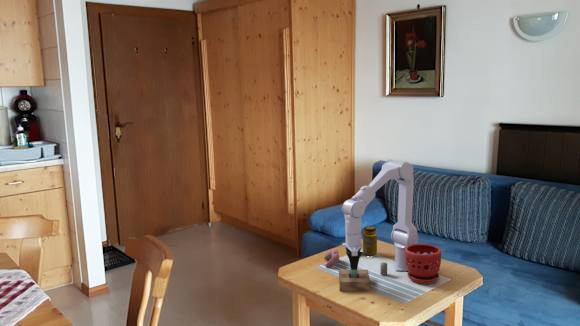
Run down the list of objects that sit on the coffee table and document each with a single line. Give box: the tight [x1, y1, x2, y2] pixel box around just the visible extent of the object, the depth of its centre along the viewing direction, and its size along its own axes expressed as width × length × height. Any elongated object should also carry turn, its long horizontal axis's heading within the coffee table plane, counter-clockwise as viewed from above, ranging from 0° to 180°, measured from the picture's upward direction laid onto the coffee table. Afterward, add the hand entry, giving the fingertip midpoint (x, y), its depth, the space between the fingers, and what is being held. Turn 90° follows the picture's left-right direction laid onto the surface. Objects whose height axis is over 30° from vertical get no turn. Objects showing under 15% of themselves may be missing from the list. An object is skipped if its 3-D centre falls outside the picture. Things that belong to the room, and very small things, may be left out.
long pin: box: [349, 267, 359, 278], centre depth 178 cm, size 3×3×8 cm
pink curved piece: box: [324, 248, 341, 269], centre depth 200 cm, size 10×5×7 cm, turn 179°
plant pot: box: [405, 243, 442, 284], centre depth 182 cm, size 13×13×12 cm
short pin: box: [379, 262, 388, 277], centre depth 187 cm, size 3×3×4 cm
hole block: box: [338, 269, 371, 292], centre depth 179 cm, size 11×11×4 cm
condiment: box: [360, 225, 381, 260], centre depth 209 cm, size 7×8×12 cm
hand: (353, 267), depth 179 cm, fingers closed on long pin, 2 cm apart
